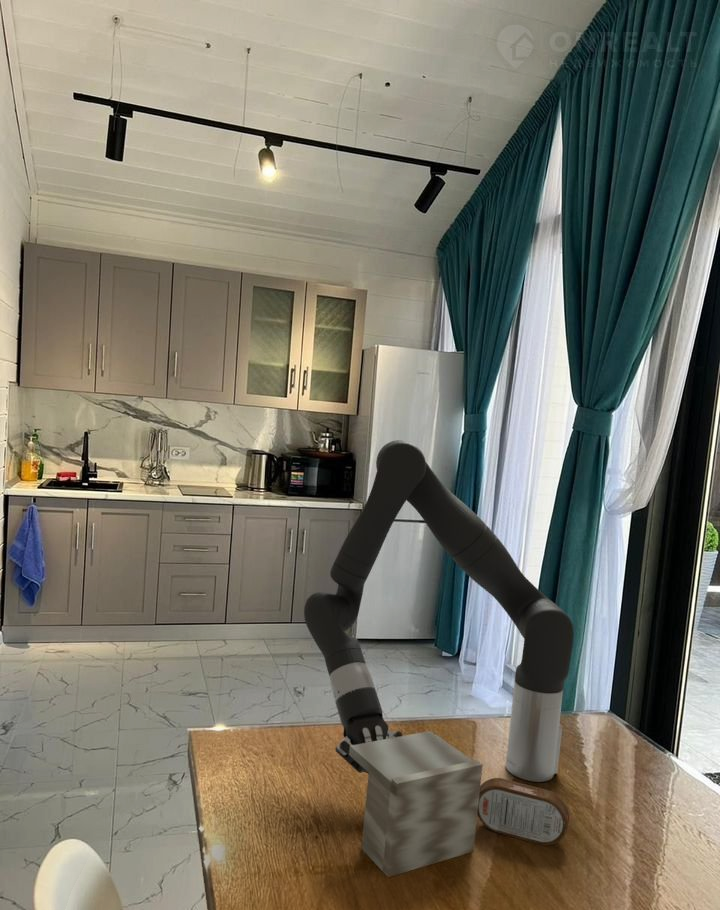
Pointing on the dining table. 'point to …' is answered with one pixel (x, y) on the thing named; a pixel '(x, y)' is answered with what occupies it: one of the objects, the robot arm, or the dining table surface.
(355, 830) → the dining table surface
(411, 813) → the overhanging lid box
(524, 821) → the tin
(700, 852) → the dining table surface
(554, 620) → the robot arm
